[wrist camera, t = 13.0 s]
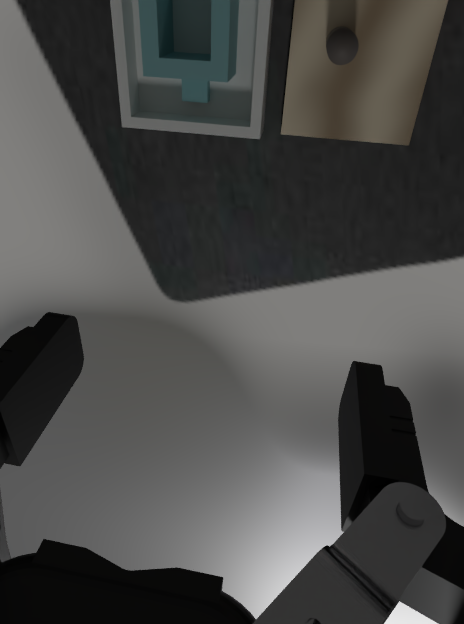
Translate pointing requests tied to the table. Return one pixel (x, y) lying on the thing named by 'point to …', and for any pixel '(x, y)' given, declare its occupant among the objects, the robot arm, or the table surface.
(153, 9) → the teal hollow block
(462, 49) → the table surface
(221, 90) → the tray
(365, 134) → the peg board
